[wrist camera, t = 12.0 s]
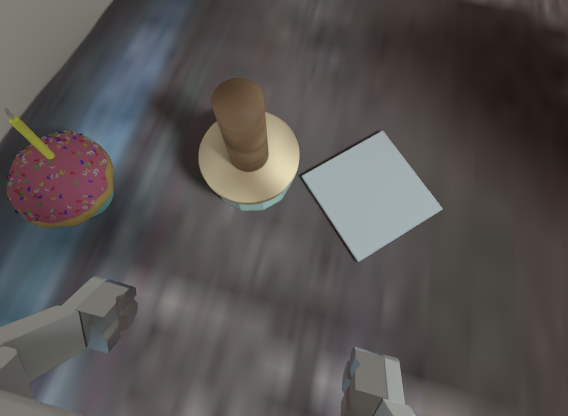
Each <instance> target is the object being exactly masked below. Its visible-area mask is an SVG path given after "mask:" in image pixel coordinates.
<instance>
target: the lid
mask: <svg viewBox="0 0 568 416" xmlns="http://www.w3.org/2000/svg"><path fill="white" fill-rule="evenodd" d="M211 104H212V108H213V111H214V114H215V117H216V120H217V122H215V123H214V124H213V125H212V126H211V127H210V128H209V130H208V131H207V132H206V134H205V135H204V137H203V139H202V141H201V144H200V148H199V166H200V170H201V173H202V175H203V177H204V179H205V180H206V182H207V184H208V185H209V186H210V188H211V189H212V190H213V191H214V192H215V193H217V194H218V195H219V196H221V197H222V198H224V199H226V200H228V201H231V202H234V203H238V204H247V205H251V204H259V203H263V202H266V201H269V200H271V199H273V198H275V197H277V196H278V195H280V194H281V193H282V192H283V191H285V190H286V189H287V187H288V186H289V185H290V184H291V182H292V181H293V179H294V177H295V175H296V172H297V169H298V164H299V146H298V142H297V140H296V137H295V135H294V133H293V132H292V130H291V129H290V128H289V126H288V125H287V124H286V123H285V122H283V121H282V120H281V119H279V118H278V117H276V116H274V115H272V114H269V113H267V112H265V103H264V95H263V92H262V90H261V89H260V87H259V86H258V85H257V84H256V83H254V82H252V81H250V80H248V79H244V78H234V79H230V80H227V81H225V82H223V83H221V84H220V85H219V86H218V87H217V88H216V89H215V91H214V93H213V95H212V100H211Z"/></svg>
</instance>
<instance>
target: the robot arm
mask: <svg viewBox="0 0 568 416" xmlns="http://www.w3.org/2000/svg"><path fill="white" fill-rule="evenodd" d="M135 295H136V288H135V287H133V286H129V285H126V284H123V283H120V282H116V281H113V280H110V279H106V278H103V277H99V276H95V277H92V278H91V279H90V280H88V281H87V282H86V283H85V284H84V285H83V286H82V287H81V288H80V289H79V290H78V291H77V292H76V293H74V294H73V295H72V296H71V297H70V298H69V299H68V300H67V301H66V302H65V303H64V304H63V305H61V306H58V305H56V306H54V307H51V308H48V309H46V310H43V311H41V312H38V313H35V314H33V315H30V316H27V317H25V318H22V319H20V320H17V321H14V322H12V323H9V324H6V325H4V326H1V327H0V416H83V415H80V414H77V413H74V412H70V411H67V410H64V409H61V408H58V407H55V406H51V405H48V404H45V403H42V402H39V401H36V400H32V399H33V393H32V391H31V388H30V385H29V382H31V381H32V380H34V379H36V378H37V377H39V376H41V375H43V374H44V373H46V372H48V371H49V370H51V369H53V368H54V367H56V366H58V365H59V364H61V363H63V362H65V361H66V360H68V359H70V358H71V357H73V356H75V355H76V354H78V353H80V352H81V351H83V350H85V349H86V347H87V348H90V349H94V350H98V351H102V352H106V353H109V352H110V351H111V350H112V348H113V347H114V346H115V344H116V343H117V342H118V341H119V339H120V332H121V331H123V330H125V329H127V328H129V326H130V325H131V324H132V322H133V320H134V318H135V316H136V313H137V302H136V301H135V300H134V297H135ZM342 390H343V392H344V394H345V395H344V397H343V400H342V402H341V416H416V415H415V414H414V412H413V411H412V409H411V408H410V406H408V405H405V402H404V394H403V387H402V379H401V371H400V364H399V360H398V358H394V357H391V356H387V355H382V354H381V353H377V352H373V351H369V350H365V349H361V348H357V347H354V348H353V349H352V351H351V356H350V360H349V361H347V364H346V366H345V370H344V374H343V382H342Z"/></svg>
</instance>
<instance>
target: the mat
mask: <svg viewBox="0 0 568 416" xmlns="http://www.w3.org/2000/svg"><path fill="white" fill-rule="evenodd" d="M302 179H303V180H304V182H305V183H306V185H307V187H308V188H309V190H310V191H311V193H312V194H313V196H314V197H315V199H316V200H317V202H318V203H319V205H320V206H321V208H322V209H323V211H324V212H325V214H326V215H327V217H328V218H329V220H330V221H331V223H332V224H333V226H334V227H335V229H336V231H337V232H338V234H339V235H340V237H341V238H342V240H343V241H344V243H345V244H346V246H347V247H348V249H349V250H350V252H351V253H352V255H353V256H354V258H355V259H356V261H357V262H359V261H361V260H362V259H364V258H366V257H367V256H369V255H370V254H372V253H374V252H375V251H377V250H378V249H380V248H382V247H383V246H385V245H386V244H388V243H390V242H391V241H393V240H394V239H396V238H398V237H399V236H401V235H402V234H404V233H405V232H407V231H409V230H410V229H412V228H413V227H415V226H417V225H418V224H420V223H421V222H423V221H425V220H426V219H428V218H429V217H431V216H433V215H434V214H436V213H437V212H439V211H441V210H442V209H443V208H442V207H441V206H440V205H439V203H438V202H437V201H436V199H435V198H434V197H433V195H432V194H431V193H430V192H429V190H428V189H427V188H426V186H425V185H424V184H423V182H422V181H421V180H420V178H419V177H418V176H417V175H416V173H415V172H414V171H413V169H412V168H411V167H410V165H409V164H408V163H407V162H406V160H405V159H404V158H403V156H402V155H401V154H400V152H399V151H398V150H397V148H396V147H395V146H394V145H393V143H392V142H391V141H390V139H389V138H388V137H387V135H386V134H385V133H384V131H381V132H379V133H378V134H376V135H374V136H372V137H370V138H369V139H367V140H365V141H363V142H361V143H360V144H358V145H356V146H354V147H353V148H351V149H349V150H347V151H345V152H344V153H342V154H340V155H338V156H336V157H335V158H333V159H331V160H329V161H328V162H326V163H324V164H322V165H320V166H319V167H317V168H315V169H313V170H311V171H310V172H308V173H306V174H304V175H303V176H302Z"/></svg>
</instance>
